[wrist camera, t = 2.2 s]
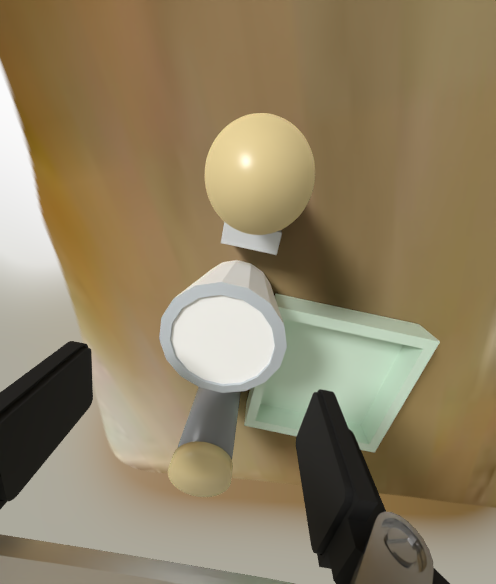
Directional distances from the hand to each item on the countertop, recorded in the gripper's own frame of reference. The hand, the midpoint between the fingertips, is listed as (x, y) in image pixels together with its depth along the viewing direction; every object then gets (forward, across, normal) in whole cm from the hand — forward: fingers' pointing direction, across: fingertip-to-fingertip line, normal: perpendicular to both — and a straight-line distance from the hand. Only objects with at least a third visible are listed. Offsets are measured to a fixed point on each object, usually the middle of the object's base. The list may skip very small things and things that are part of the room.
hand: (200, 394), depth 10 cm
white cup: (+10, -1, -1) cm, 10 cm away
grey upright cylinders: (+10, -1, -1) cm, 10 cm away
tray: (+10, -9, +4) cm, 14 cm away
